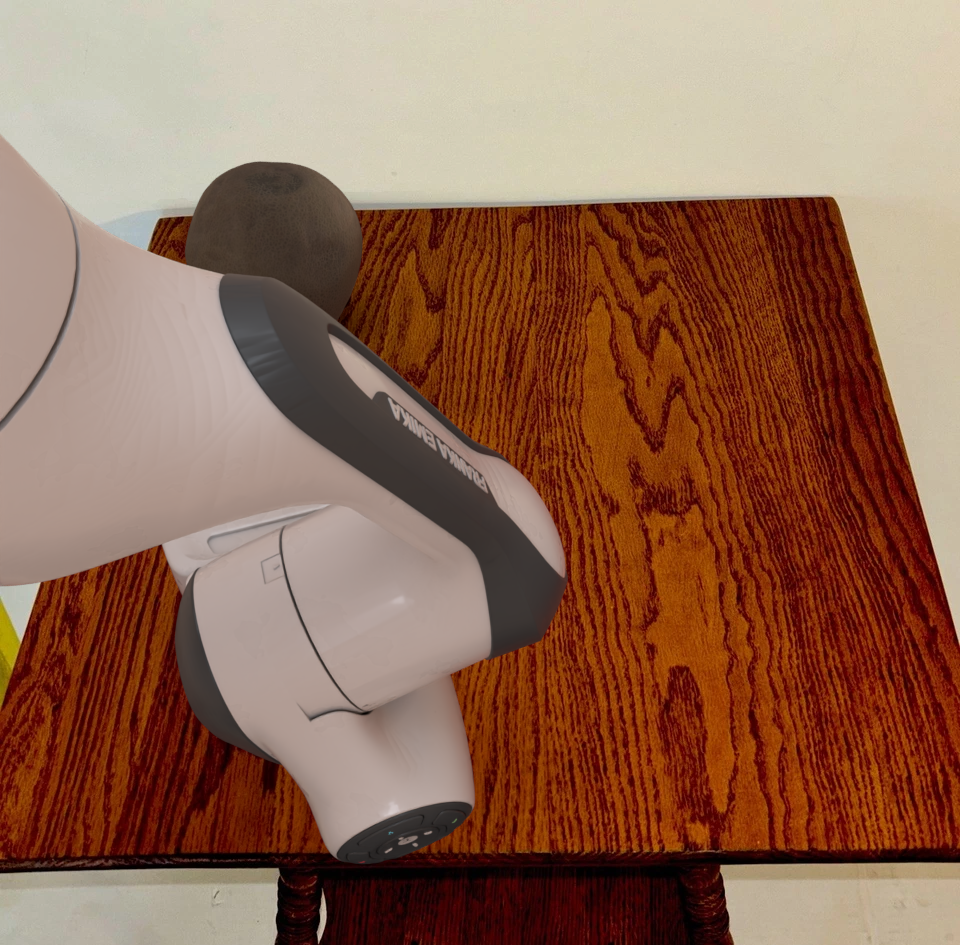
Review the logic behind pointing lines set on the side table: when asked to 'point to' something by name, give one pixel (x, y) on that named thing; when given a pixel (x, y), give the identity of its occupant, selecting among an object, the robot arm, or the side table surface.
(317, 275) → the coconut
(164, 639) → the side table surface
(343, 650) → the robot arm
